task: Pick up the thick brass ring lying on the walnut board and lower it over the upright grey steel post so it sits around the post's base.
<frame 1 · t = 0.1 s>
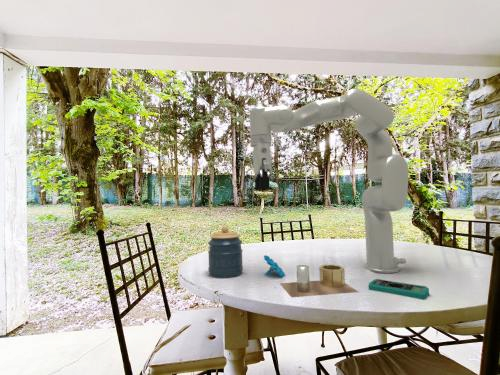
hand: (261, 189, 101), 31 cm above the table, tool pointing down, fingers open, 9 cm apart
canister: (225, 274, 106), on the table
digital multimeter: (398, 295, 80), on the table
board: (317, 289, 85), on the table
ring: (332, 283, 89), point 1 cm above the table, touching board
gear: (274, 277, 101), on the table
piston post: (303, 292, 82), resting on board
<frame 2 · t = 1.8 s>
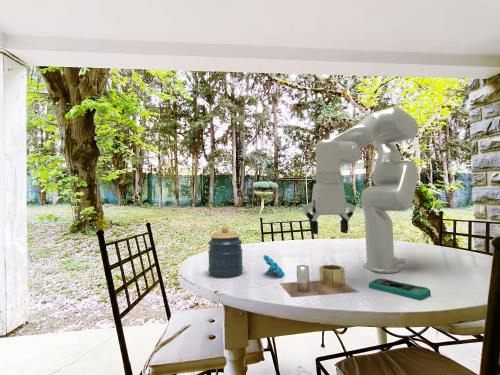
hand: (329, 233, 89), 16 cm above the table, tool pointing down, fingers open, 9 cm apart
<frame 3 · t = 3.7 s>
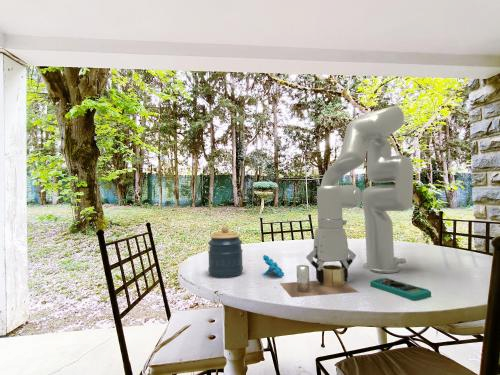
hand: (332, 280, 89), 1 cm above the table, tool pointing down, fingers closed on ring, 7 cm apart
ring: (332, 283, 89), point 1 cm above the table, touching board, gripper
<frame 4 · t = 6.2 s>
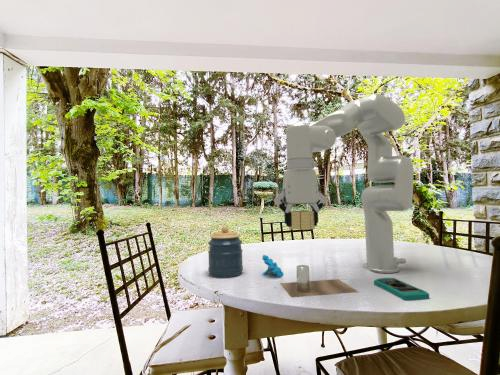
hand: (301, 225, 83), 20 cm above the table, tool pointing down, fingers closed on ring, 7 cm apart
ring: (301, 228, 83), point 19 cm above the table, touching gripper
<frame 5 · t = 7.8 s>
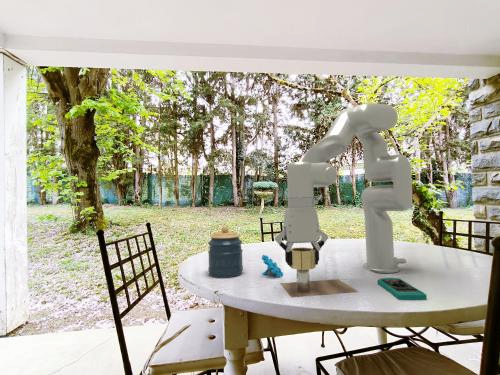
hand: (302, 263, 83), 8 cm above the table, tool pointing down, fingers closed on ring, 7 cm apart
ring: (302, 266, 83), point 8 cm above the table, touching gripper
when the fingers open (4 cm above the table, at t = 9.1 s): ring drops 3 cm, resting on board.
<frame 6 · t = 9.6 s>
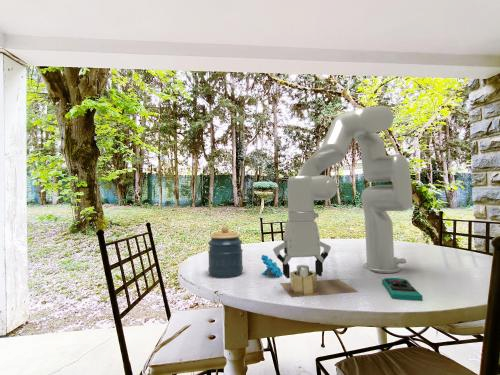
hand: (303, 276, 83), 5 cm above the table, tool pointing down, fingers open, 9 cm apart
ring: (303, 290, 83), point 1 cm above the table, touching board
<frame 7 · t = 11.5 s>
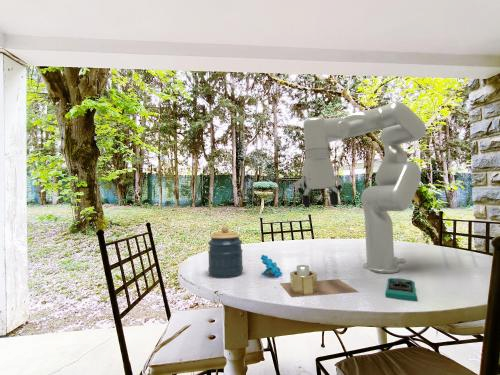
hand: (320, 206, 95), 25 cm above the table, tool pointing down, fingers open, 9 cm apart
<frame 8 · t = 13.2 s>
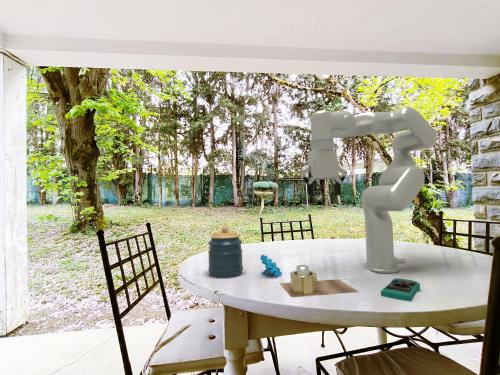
hand: (324, 195, 98), 28 cm above the table, tool pointing down, fingers open, 9 cm apart
at the end: ring 0.1 cm off-centre on the piston post, point 0.6 cm above the piston post's base; the gripper is holding nothing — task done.
